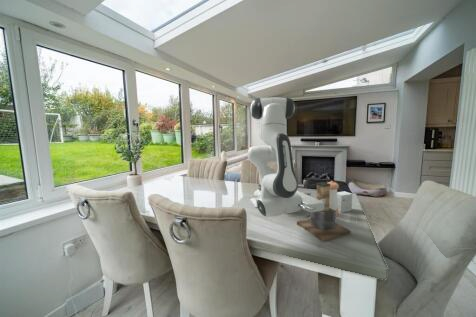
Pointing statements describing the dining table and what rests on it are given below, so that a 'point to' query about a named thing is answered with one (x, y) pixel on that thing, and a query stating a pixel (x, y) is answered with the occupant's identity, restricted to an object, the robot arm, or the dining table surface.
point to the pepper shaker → (333, 196)
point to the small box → (344, 201)
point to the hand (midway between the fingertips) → (316, 197)
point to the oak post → (324, 194)
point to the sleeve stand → (323, 225)
